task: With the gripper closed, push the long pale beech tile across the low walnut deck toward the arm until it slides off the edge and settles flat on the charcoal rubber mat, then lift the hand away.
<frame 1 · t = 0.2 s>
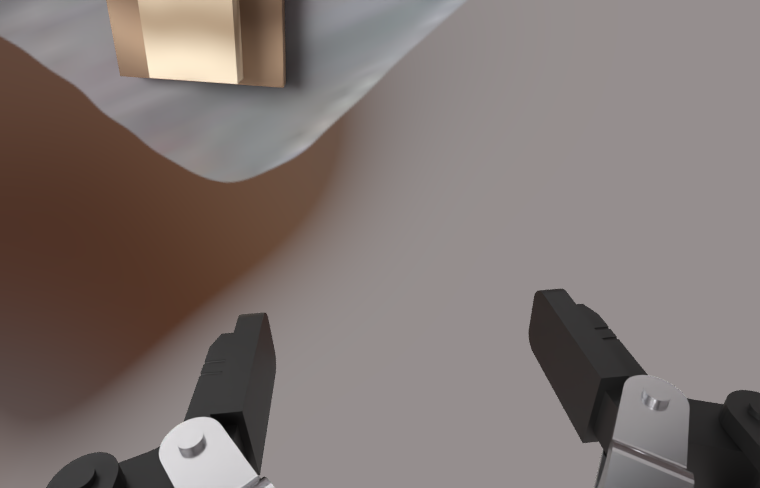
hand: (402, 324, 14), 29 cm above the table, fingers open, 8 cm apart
beech tile: (196, 8, 32), point 2 cm above the table, touching walnut deck
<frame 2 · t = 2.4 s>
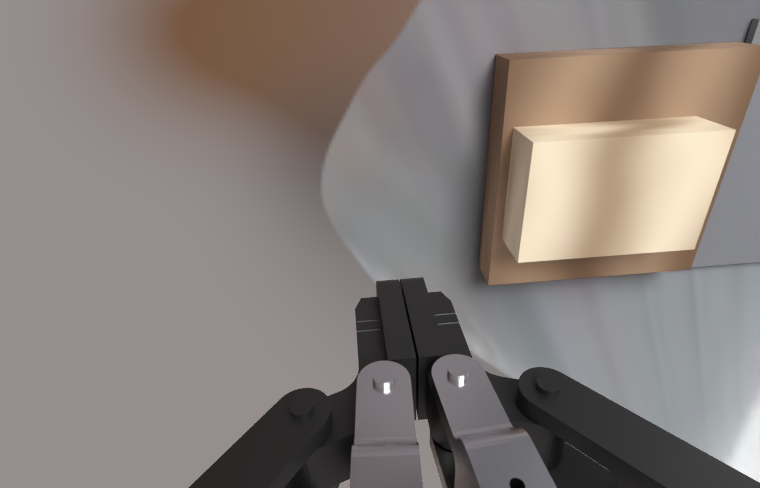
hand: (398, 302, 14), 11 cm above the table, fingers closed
walnut deck: (593, 166, 25), on the table
beech tile: (593, 180, 23), point 2 cm above the table, touching walnut deck
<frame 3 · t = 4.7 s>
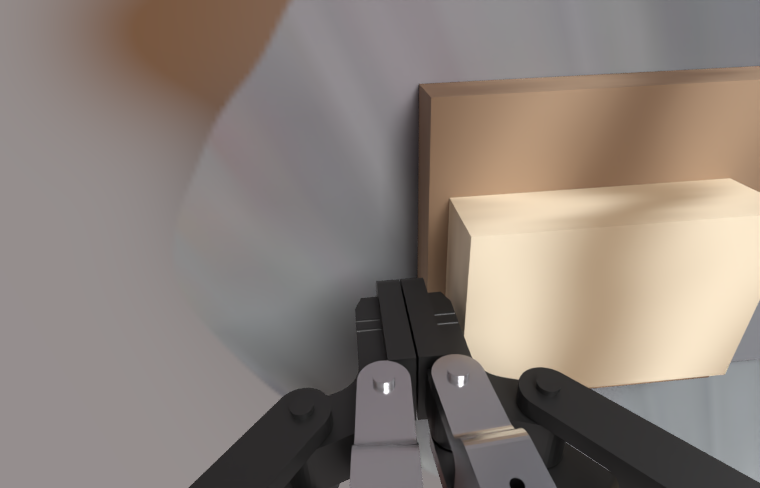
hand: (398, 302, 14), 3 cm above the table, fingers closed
walnut deck: (572, 239, 17), on the table
beech tile: (575, 269, 15), point 2 cm above the table, touching gripper, walnut deck
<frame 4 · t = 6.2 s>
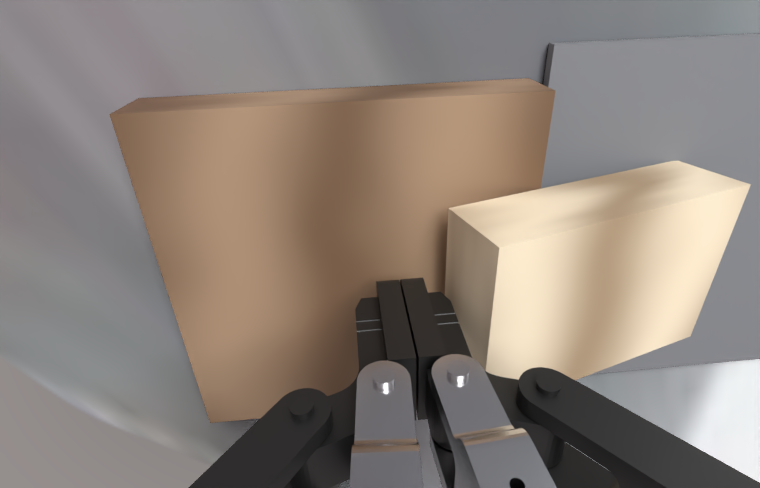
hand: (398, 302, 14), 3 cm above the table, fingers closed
walnut deck: (351, 255, 17), on the table
beech tile: (558, 261, 16), point 2 cm above the table, tilted 17°, touching charcoal mat, walnut deck
charcoal mat: (702, 229, 18), on the table
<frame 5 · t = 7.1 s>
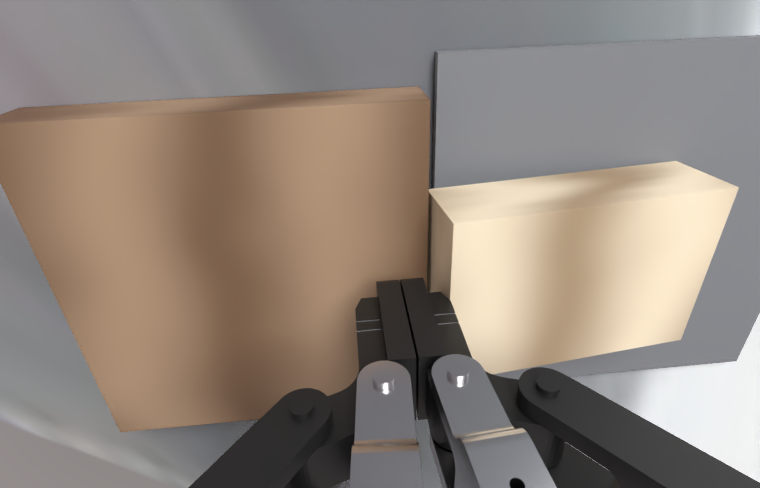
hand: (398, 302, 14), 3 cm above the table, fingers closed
walnut deck: (257, 263, 17), on the table
beech tile: (544, 251, 17), point 1 cm above the table, tilted 6°
charcoal mat: (615, 236, 18), on the table
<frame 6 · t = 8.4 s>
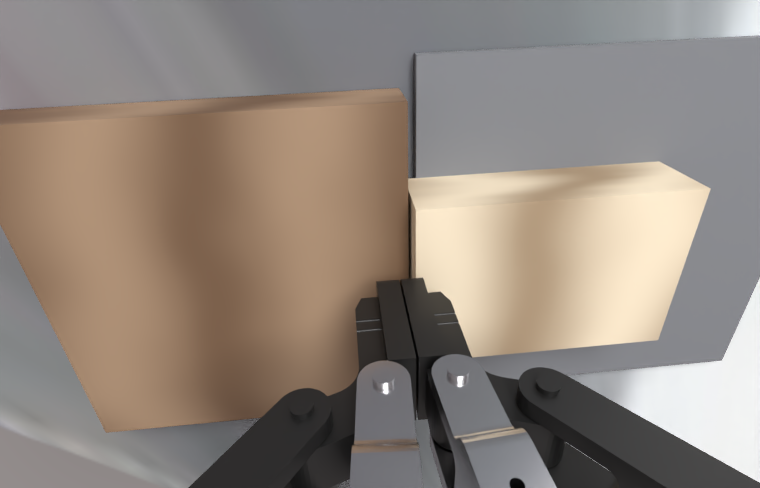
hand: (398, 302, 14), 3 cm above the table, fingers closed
walnut deck: (241, 264, 17), on the table
beech tile: (523, 245, 17), resting on charcoal mat
charcoal mat: (598, 236, 18), on the table
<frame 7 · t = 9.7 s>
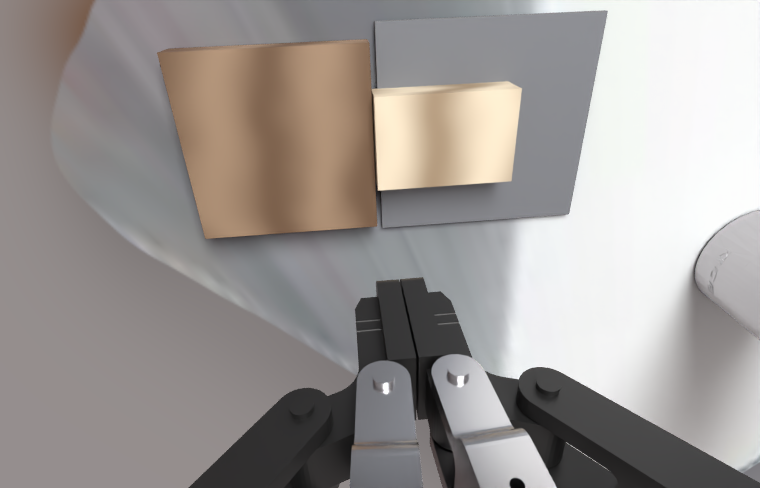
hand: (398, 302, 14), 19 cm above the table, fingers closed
walnut deck: (282, 140, 31), on the table
beech tile: (439, 131, 31), resting on charcoal mat
charcoal mat: (482, 128, 31), on the table
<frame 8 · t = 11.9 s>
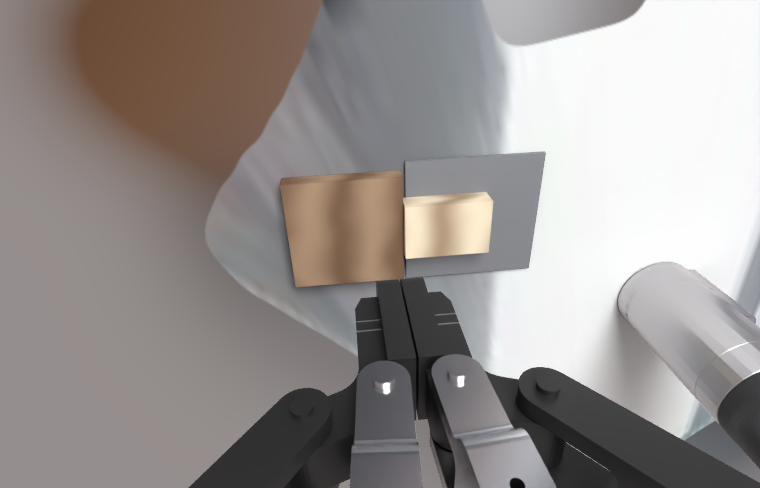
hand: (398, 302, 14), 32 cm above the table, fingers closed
walnut deck: (345, 226, 49), on the table
beech tile: (443, 220, 49), resting on charcoal mat
charcoal mat: (470, 217, 50), on the table
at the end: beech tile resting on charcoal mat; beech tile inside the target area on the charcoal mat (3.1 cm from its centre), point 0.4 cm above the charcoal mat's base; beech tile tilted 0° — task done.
